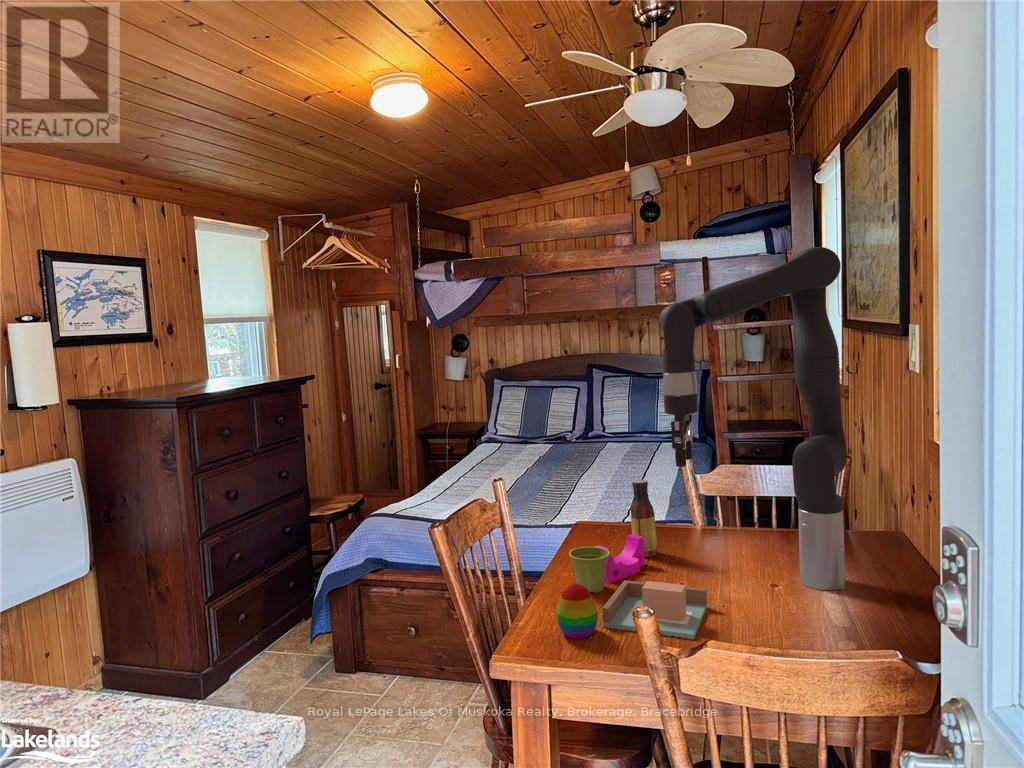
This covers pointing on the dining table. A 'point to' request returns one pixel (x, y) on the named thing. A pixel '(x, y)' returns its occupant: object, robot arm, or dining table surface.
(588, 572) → the plant pot
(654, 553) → the sauce bottle
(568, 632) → the decorative egg
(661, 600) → the block
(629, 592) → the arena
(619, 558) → the toy block
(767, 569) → the dining table surface
